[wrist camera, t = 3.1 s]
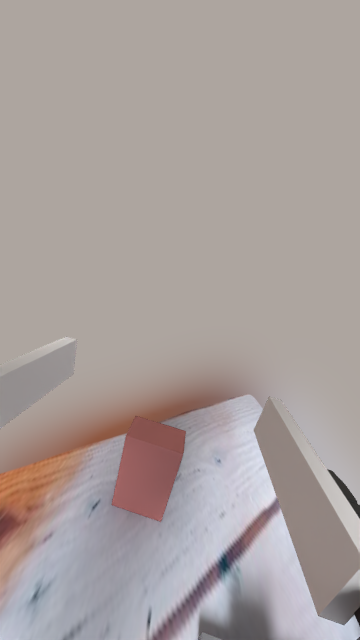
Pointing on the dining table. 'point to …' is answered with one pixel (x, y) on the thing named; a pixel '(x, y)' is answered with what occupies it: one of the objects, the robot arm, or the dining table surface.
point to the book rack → (207, 637)
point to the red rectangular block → (148, 467)
